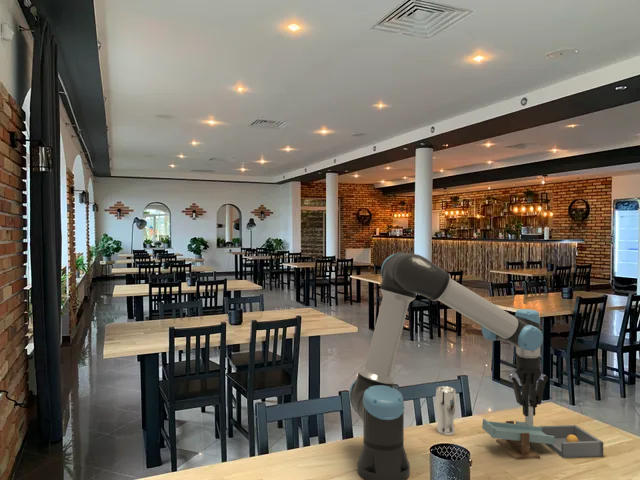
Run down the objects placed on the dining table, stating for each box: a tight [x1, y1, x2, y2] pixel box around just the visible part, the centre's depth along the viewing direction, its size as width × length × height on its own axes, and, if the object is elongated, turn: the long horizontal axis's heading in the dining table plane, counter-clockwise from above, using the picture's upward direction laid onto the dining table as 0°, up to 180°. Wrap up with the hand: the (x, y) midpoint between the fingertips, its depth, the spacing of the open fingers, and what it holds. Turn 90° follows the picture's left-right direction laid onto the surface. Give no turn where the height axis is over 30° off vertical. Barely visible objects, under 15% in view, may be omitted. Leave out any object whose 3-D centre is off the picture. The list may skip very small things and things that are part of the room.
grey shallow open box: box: [538, 424, 604, 459], centre depth 156 cm, size 13×14×4 cm
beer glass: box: [435, 385, 457, 436], centre depth 169 cm, size 7×7×15 cm
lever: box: [481, 418, 554, 445], centre depth 158 cm, size 20×15×3 cm
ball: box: [566, 435, 579, 442], centre depth 156 cm, size 4×4×4 cm
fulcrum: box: [495, 420, 541, 460], centre depth 154 cm, size 8×13×7 cm, turn 4°
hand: (529, 425), depth 162 cm, fingers closed
